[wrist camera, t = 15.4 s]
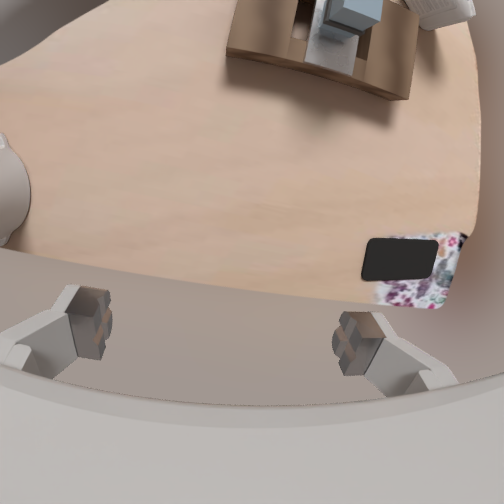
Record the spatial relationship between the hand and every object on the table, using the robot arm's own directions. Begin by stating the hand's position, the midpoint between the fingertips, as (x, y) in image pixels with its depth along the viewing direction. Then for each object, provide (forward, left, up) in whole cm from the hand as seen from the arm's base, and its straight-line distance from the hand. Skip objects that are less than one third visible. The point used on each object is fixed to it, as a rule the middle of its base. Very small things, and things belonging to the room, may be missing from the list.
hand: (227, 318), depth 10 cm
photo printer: (+24, +35, -33) cm, 54 cm away
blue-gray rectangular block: (+10, +23, -27) cm, 37 cm away
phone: (+32, -8, -34) cm, 47 cm away
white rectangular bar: (+10, +23, -31) cm, 40 cm away
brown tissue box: (+10, +23, -33) cm, 41 cm away
